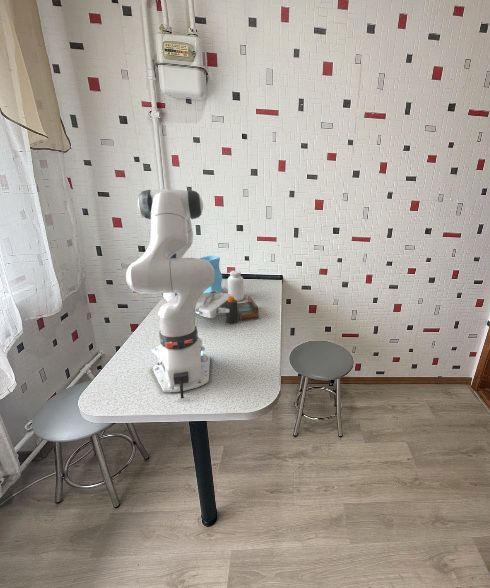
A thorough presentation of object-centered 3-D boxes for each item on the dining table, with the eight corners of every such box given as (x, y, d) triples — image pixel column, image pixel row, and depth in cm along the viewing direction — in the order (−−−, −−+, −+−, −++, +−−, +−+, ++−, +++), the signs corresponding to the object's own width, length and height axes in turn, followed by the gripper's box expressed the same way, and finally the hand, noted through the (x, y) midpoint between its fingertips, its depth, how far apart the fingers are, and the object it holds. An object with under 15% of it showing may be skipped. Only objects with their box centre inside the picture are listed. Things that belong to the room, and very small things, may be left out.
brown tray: (258, 318, 155) (258, 306, 153) (241, 321, 152) (241, 309, 149) (250, 307, 167) (249, 296, 164) (234, 309, 163) (233, 298, 161)
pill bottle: (246, 299, 175) (245, 273, 169) (231, 302, 170) (230, 275, 165) (240, 294, 181) (239, 268, 175) (226, 297, 176) (224, 270, 171)
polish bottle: (239, 322, 150) (238, 298, 145) (227, 324, 148) (226, 300, 143) (236, 318, 154) (235, 294, 149) (225, 320, 152) (224, 295, 147)
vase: (202, 293, 180) (199, 257, 173) (213, 289, 186) (211, 255, 179) (211, 296, 176) (209, 260, 169) (223, 292, 182) (221, 257, 175)
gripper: (191, 305, 140) (221, 310, 137) (217, 289, 159) (243, 293, 156) (193, 318, 143) (221, 323, 140) (217, 301, 161) (243, 305, 158)
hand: (233, 307), depth 148 cm, fingers closed on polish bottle, 5 cm apart
